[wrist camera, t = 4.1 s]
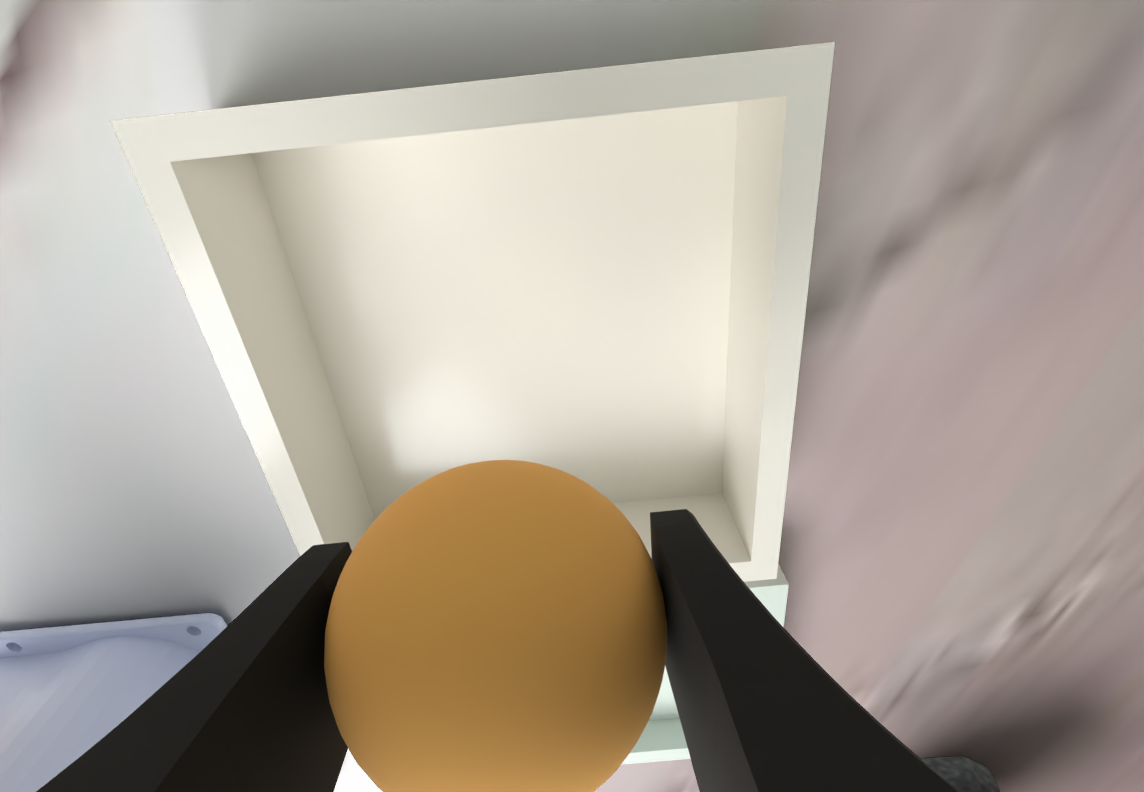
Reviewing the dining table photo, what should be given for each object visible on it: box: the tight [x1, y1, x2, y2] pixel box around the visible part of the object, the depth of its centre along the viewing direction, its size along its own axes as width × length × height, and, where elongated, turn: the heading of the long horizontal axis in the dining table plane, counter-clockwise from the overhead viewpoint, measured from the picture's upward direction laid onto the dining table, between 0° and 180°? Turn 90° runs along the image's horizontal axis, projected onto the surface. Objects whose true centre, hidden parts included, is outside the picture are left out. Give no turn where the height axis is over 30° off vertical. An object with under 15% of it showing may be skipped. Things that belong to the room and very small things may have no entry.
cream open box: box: [110, 42, 835, 582], centre depth 15 cm, size 14×14×4 cm
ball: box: [324, 460, 667, 792], centre depth 8 cm, size 5×5×5 cm
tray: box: [622, 563, 789, 764], centre depth 22 cm, size 14×10×2 cm
